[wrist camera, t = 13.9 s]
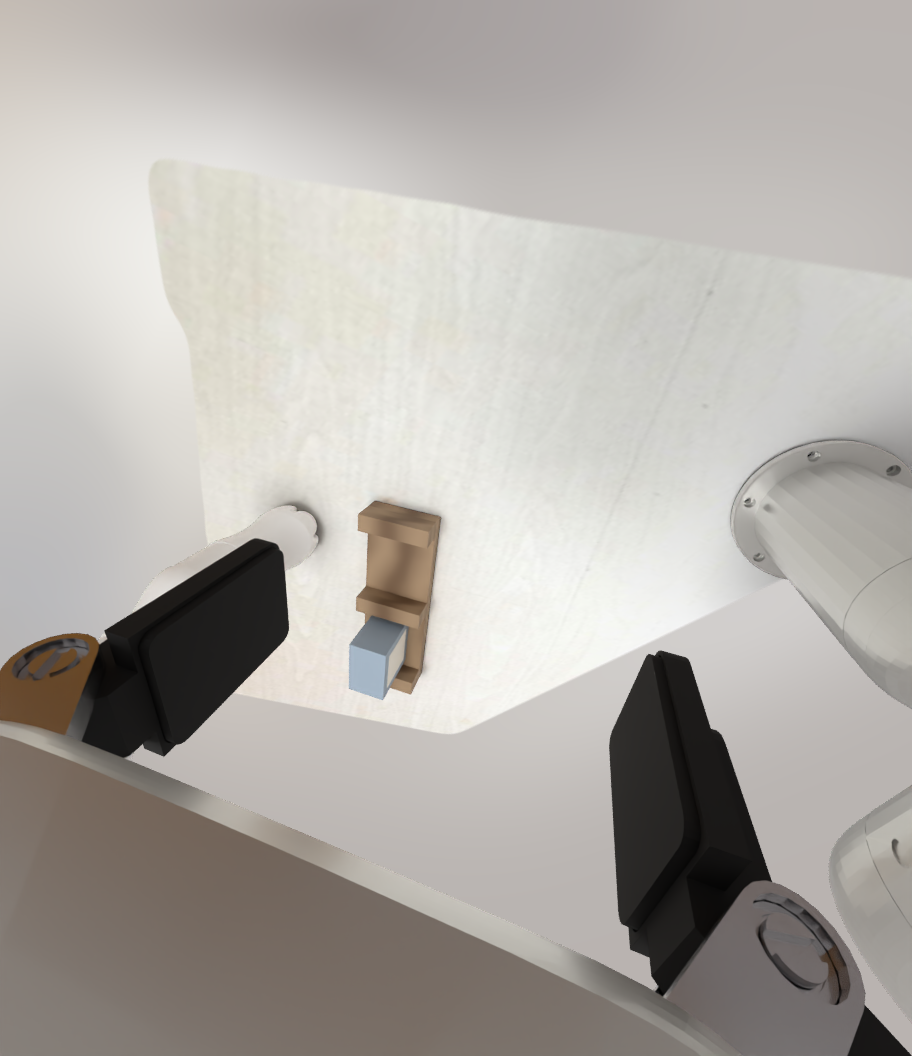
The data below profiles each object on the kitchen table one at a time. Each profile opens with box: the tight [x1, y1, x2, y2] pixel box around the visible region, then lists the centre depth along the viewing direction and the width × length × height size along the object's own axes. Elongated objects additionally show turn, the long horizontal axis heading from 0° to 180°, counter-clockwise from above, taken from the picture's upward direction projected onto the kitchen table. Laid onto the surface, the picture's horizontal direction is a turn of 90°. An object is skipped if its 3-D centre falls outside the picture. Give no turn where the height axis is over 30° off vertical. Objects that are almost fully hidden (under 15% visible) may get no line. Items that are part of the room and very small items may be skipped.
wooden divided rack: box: [356, 501, 441, 694], centre depth 51 cm, size 8×24×4 cm, turn 172°
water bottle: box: [98, 506, 318, 644], centre depth 41 cm, size 7×7×25 cm
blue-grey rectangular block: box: [349, 615, 409, 700], centre depth 51 cm, size 4×7×7 cm, turn 172°
